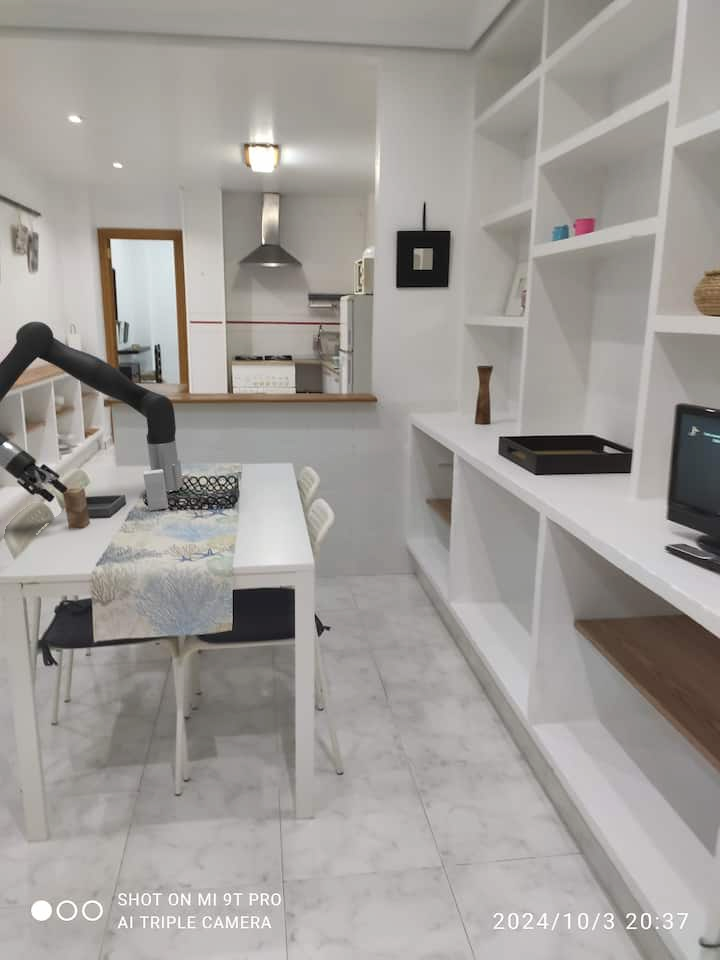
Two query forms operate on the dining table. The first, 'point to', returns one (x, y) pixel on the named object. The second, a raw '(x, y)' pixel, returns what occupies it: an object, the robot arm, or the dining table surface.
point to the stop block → (76, 508)
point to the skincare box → (155, 489)
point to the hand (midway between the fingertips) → (59, 495)
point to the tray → (104, 505)
